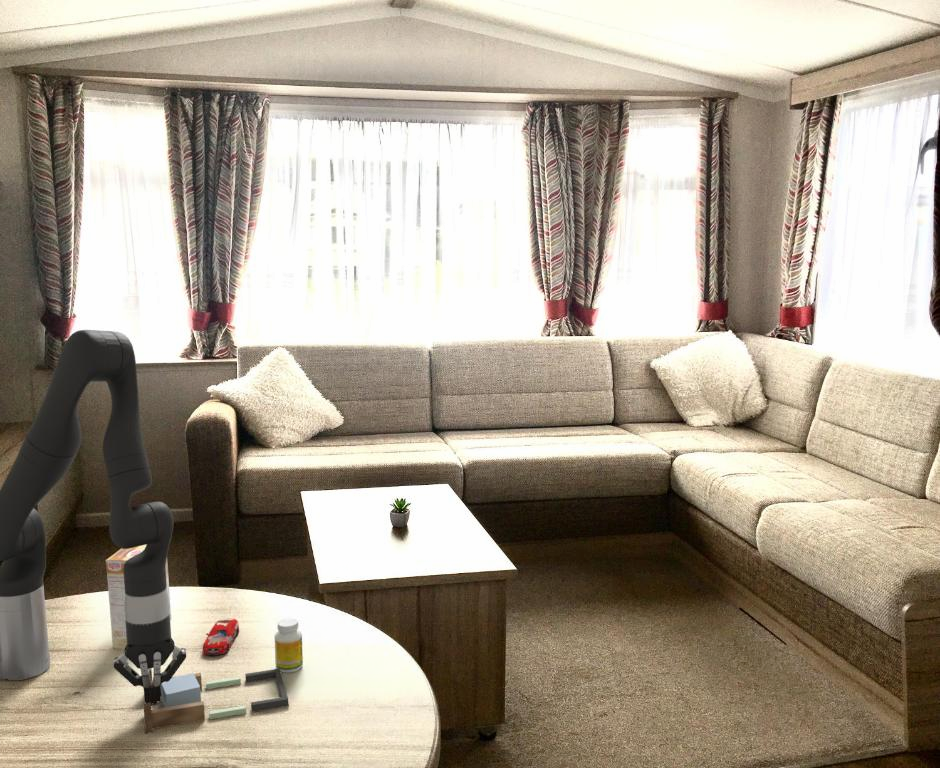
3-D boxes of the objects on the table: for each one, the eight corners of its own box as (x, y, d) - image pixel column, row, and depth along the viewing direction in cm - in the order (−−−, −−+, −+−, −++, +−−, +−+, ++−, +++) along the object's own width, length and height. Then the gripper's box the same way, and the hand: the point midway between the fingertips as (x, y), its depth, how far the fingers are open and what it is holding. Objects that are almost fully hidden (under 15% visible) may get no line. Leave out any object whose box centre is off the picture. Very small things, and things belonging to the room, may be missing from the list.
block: (167, 715, 164) (166, 694, 163) (161, 700, 169) (160, 680, 168) (201, 707, 166) (200, 686, 166) (194, 692, 172) (193, 672, 171)
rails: (209, 719, 162) (209, 714, 162) (206, 686, 173) (205, 681, 173) (246, 713, 164) (246, 708, 164) (240, 681, 175) (240, 676, 175)
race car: (225, 658, 185) (224, 640, 185) (199, 658, 186) (198, 640, 185) (243, 630, 198) (242, 613, 198) (218, 630, 199) (217, 612, 198)
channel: (145, 733, 157) (143, 706, 156) (146, 693, 171) (144, 668, 170) (205, 723, 160) (203, 697, 160) (201, 684, 174) (200, 660, 173)
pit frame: (251, 712, 164) (251, 705, 164) (245, 680, 176) (245, 673, 175) (288, 706, 166) (288, 698, 166) (280, 675, 178) (279, 668, 178)
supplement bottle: (272, 664, 182) (270, 619, 181) (298, 658, 185) (297, 614, 183) (279, 675, 178) (277, 629, 176) (306, 670, 180) (304, 624, 178)
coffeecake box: (142, 618, 204) (136, 535, 201) (172, 619, 204) (167, 536, 200) (110, 648, 189) (104, 559, 186) (143, 649, 189) (137, 560, 186)
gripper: (106, 627, 156) (113, 720, 159) (186, 616, 160) (192, 707, 163) (108, 610, 163) (115, 699, 166) (185, 600, 167) (190, 688, 170)
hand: (153, 703), depth 164 cm, fingers closed
